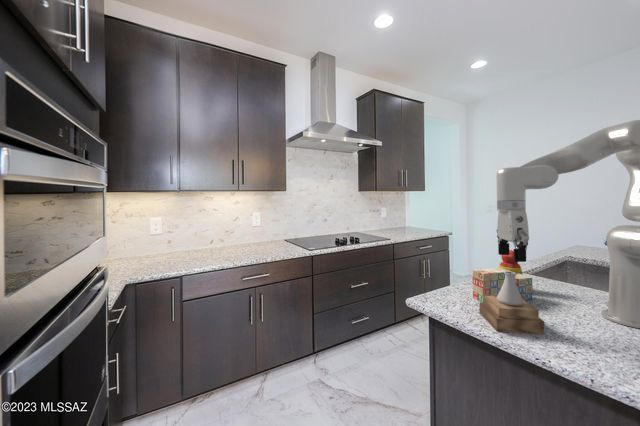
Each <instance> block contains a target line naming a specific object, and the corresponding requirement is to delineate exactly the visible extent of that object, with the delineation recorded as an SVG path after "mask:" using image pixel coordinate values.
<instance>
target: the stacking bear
mask: <svg viewBox="0 0 640 426" xmlns="http://www.w3.org/2000/svg"><path fill="white" fill-rule="evenodd" d="M500 257H501V262H500V263H499V265H498V267H497V268H502V269H505V270H508V271H511V272H515V273H516V274H522V275H524V274H523V269H522V267H521V264H520V263H519V262H515V261H514V250H511V249H509V255H500Z"/></svg>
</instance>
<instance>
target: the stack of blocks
mask: <svg viewBox="0 0 640 426" xmlns="http://www.w3.org/2000/svg"><path fill="white" fill-rule="evenodd" d="M506 271H508V270H505V269H502V268H498V267H491V268H489V267H488V268H478V269H477V268H476V269H475V268H474V269H473V270H472V299H474V300H476V301H477V302H479V303H480V302H481V303H484V295H486V296H497V295H498V294H499V292H500V290H501V288H502V286H503V283H504V280H505V274H504V272H506ZM510 272H511V271H510ZM515 280H516V285H517V288H518V290H519V293H520V295H521V298H522V299H523V300H524V301H532V300H533V287H534V286H533V277H532V276H527V275H525V274H523V275H522V274H517V275H516V276H515Z"/></svg>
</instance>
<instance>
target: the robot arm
mask: <svg viewBox="0 0 640 426" xmlns="http://www.w3.org/2000/svg"><path fill="white" fill-rule="evenodd" d="M611 155H615V157H616V159H617V160H618V161H619V163H621V164H622V166H624V168H625V169H626V170H627V172H628V174H629V184H628V187H627V191H626V193H625V196H624V197H625V198H624V199H623V200H624V201H623V204H622V208H621V214H622V216H623V218H625V219H626V220H629V221H632V222H636V223H639V222H640V119H636V120H631V121H628V122H623V123H622V122H621V123H619V124H615V125H611V126H607V127H604V128H602V129H600V130H597V131H594V132H593V133H591V134H589V135H587V136H586V137H583V138H581V139H579V140H577V141H575V142H572V143H571V144H569V145H566V146H565V147H562V148H559V149H556V150H555V151H552V152H550V153H548V154H545V155H542V156H540V157H538V158H535V159H532V160H530V161H529V162H527V163H524V164H523V165H521V166H515V167H505V168H500V169H498V170H497V172H496V211H498V213H497V227H496V228H497V229H496V234H497V236H496V237H497V243H498V244H497V246H498V247H497V249H498V255H500V256H501V255H509V250H510V243H512V244H513V246H514V248H513V251H514V261H515V262H518V263H523V262H524V263H525V262H527V250H528V245H529V240H530V233H529V222H528V216H527V212H526V208H527V207H526V205H527V202H526V199H527V198H526V197H527V195H526V190H542V189H548V188H550V187H552V186H554V185H555V184H556V183H557V182H558V180H559V175H562V174H567V173H572V172H577V171H580V170H584V169H586V168H587V167H589V166H592V165H594V164H596V163H598V162H600V161H601V160H603V159H606V158H608V157H610V156H611ZM605 241H606V246H607V249H608V255H609V276H608V277H609V284H608V306H607V307H608V308H606V309H603V310H601V316H602V317H603V318H604V319H607V320H609V321H611V322H614V323H616V324H620V325H623V326H627V327H632V328H634V329H635V328H636V329H640V225H632V224H629V225H627V224H625V225H624V224H623V225H617V226H615V227H613V228H611V229H610V230H609V231H608V232H607V235H606V239H605ZM509 242H510V243H509Z"/></svg>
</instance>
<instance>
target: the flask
mask: <svg viewBox="0 0 640 426" xmlns="http://www.w3.org/2000/svg"><path fill="white" fill-rule="evenodd" d="M504 274H505V280H504V283H503V286H502V288H501V290H500V292H499V294H498V295H497V298H496V299H497V300H498V301H499V302H501V303H504V304H506V305H513V306H520V305H524V302H523V300H522V298H521V295H520V293H519V290H518V288H517V285H516V280H515V276H516V275H517V274H516V273H515V272H510V271H506V272H504Z"/></svg>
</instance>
